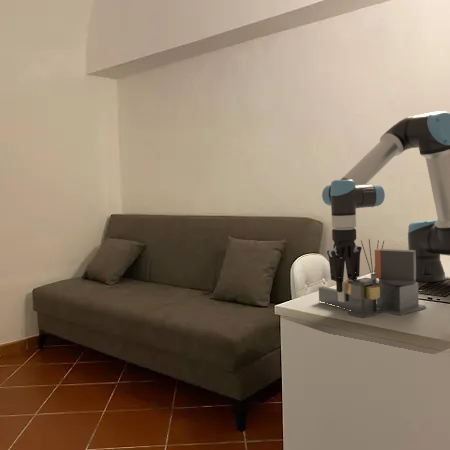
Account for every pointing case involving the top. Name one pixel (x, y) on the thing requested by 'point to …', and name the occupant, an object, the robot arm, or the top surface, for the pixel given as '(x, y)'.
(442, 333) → the top surface
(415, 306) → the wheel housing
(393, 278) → the grey block orange side
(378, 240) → the reed diffuser
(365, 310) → the eye bracket
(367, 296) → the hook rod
